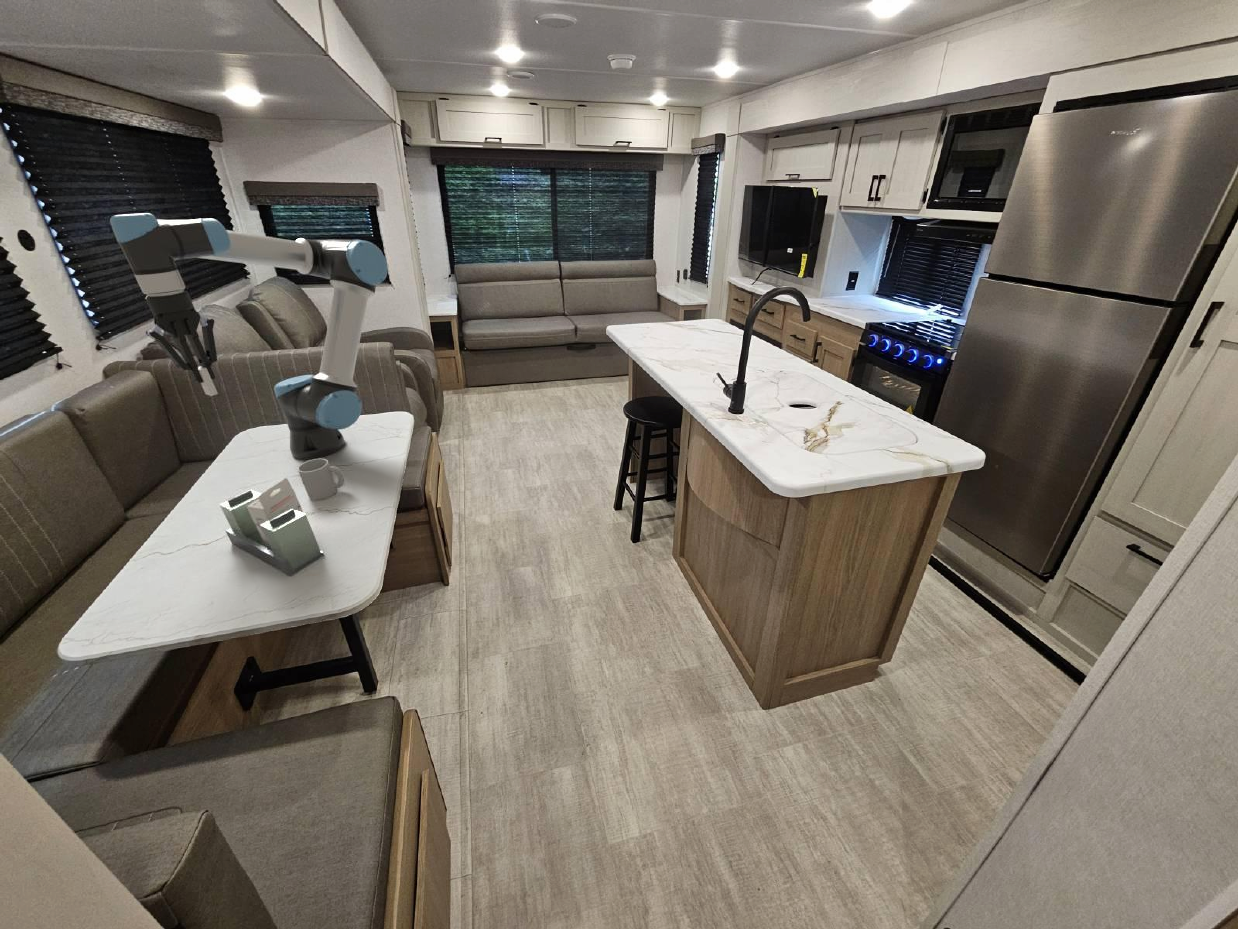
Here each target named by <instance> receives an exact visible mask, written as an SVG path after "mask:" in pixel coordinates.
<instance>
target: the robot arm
mask: <svg viewBox="0 0 1238 929" xmlns="http://www.w3.org/2000/svg"><path fill="white" fill-rule="evenodd" d="M109 222H110V223H109V224H110V225H111V229H112V231H113V234H114V235H115V238H116V242H117V243H118V245H119V247H120V248H121V250H122V252H123V254H124V256H125V259H126V260H127V262H128V264H129V266H130V268H131V271H132V273H133V275H134V277H135V280H136V281H137V283H138V286H139V288H140V290H141V291H142V293H143V294H144V295H146V296H145V297H144V299H145V300H146V303H147V305H148V307H149V309H150V311H151V314H152V316H153V318H154V320H153V324H154V325H153V327H152V328H151V329H149V330H146V331H145V335H146V336H148V337H149V338H151V339H153V340H154V341H155V342H156V343H157V344H158V346H160V348H161V349H162V350H163V352H164V354H166V356H167V357H168V358H169V359H170V360H171V361H172V362H173V364H174V365H175V366H176V367H177V369H180V370H184V371H187V370H188V371H189V372H190V374H191V377H192V379H193V380H194V382H195V383H197V384H200V385H201V387H202V390H203V392H204V393H205V395H207V396H210V397H213V396H216V395H218V394H219V393H218V391H217V388H216V386H215V384H214V382H213V380H215V379H216V376H215V372H214V371H213V369H212V366H213V363H215V362H217V361H218V355H217V347H216V341H215V335H214V326H215V323H216V322H215V319H213V318H209V317H204V316H201V314H200V313H199V312H198V311H197V310H196V308H195V306H194V304H193V301H192V299H191V297H190V294H189V292H188V291H186V290H185V288H186V285H185V283H184V280H183V278H182V276H181V274H180V272H179V270H178V266H177V264H176V263H175V262H176V261H182V260H185V259H186V260H187V259H195V258H197V259H205V260H206V259H207V260H214V261H222V262H231V263H239V264H247V265H255V266H263V267H271V268H272V267H273V268H280V269H290V270H296V271H297V272H298V273H299V274H301V275H307V276H308V275H309V276H313V277H319V278H323V279H326V280H329V283H330V284H331V286H332V287H333V290H334V291H333V295H332V296H333V297H332V301H331V307H330V314H329V318H328V324H327V330H326V335H325V338H324V339H325V340H324V346H323V351H322V355H321V361H320V368H319V372H318V373H317V374H315V375H314V374H306V375H305V374H304V375H299V376H294V377H290V378H287V379H284V380H282V381H280V382H279V381H278V383H276V384H275V385H274V387H273V390H274V393H275V399H277V402H278V404H279V408H280V409H281V412H282V414H283V417H284V420H285V423H286V424H287V426H288V427H287V428H288V429H289V450H290V452H291V455H292V457H293V458H295V459H298V460H313V459H320V458H323V457H326V456H329V455H332V454H334V453H336V452H338V451H340V449H342V448H343V447H344V446H345V443H346V441H345V438H344V436H343V434H342V432H341V431H340V430H345V429H347V428H348V429H349V428H350V427H351V426H353V425H354V424H355V423H356V422H357V421H358V419H359V418H360V416H361V414H362V406H363V405H362V401H361V400H360V397H359V396H358V395H357V389H358V386H357V384H356V383H355V381H354V380H353V379H354V374H355V368H356V362H357V356H358V351H359V347H360V341H361V337H362V330H363V327H364V326H363V325H364V322H365V320H364V319H365V314H366V310H367V309H366V308H367V303H368V299H369V298H373V296H374V295H375V294H376V289H377V285H380V284H381V283H383V282H384V281H385V280H386V279H387V276H388V272H389V271H388V268H389V266H388V263H387V259H386V257H385V255H384V254H383V252H382V250H381V248H379V247H378V246H377V245H376V244H374V243H373V242H371V241H368V240H362V239H359V238H358V239H357V238H356V239H355V238H354V239H338V238H332V239H329V238H327V239H307V238H302V237H300V238H297V239H296V240H291V239H284V238H277V237H273V236H268V235H267V236H266V235H258V234H254V233H248V232H247V233H246V232H241V231H236V230H235V231H234V230H229V229H226V228H225V226H224V225H223V224H222V223H221V222H220V221H219V220H218V219H215V218H211V217H210V218H195V219H160V218H156V217H155V215H154V214H152V213H149V212H143V213H127V214H126V213H125V214H116V215H112V216H111V217H110V219H109ZM199 325H200V326H201V332H202V339H203V344H204V346H203V344H202V342H201V340H200V335H199V332H198V327H199ZM163 331H164V332H165V333H166V334H169V335H170V336H171V338H172V339H173V340H174V342H175V344H176V346H177V349H178V350H179V353H180V354H181V355H179V353H178V351H176V349H175V348H174V347H173V346H172V345H171V343H170V342H169V341H168V340H167V339H166V338H165V337H164V333H163ZM187 339H188V341H189V343H190V346H191V349H192V350H193V353H194V355H195V356H196V359H195V357H194V355H193V353H192V350H191V349H190V346H189V344H188V342H187ZM181 356H182V357H181ZM196 360H197V361H198V363H197V362H196ZM198 364H199V365H200V366H198Z"/></svg>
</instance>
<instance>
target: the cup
mask: <svg viewBox="0 0 1238 929" xmlns="http://www.w3.org/2000/svg"><path fill="white" fill-rule="evenodd" d="M297 471H298V472H297V473H298V474H299V476H300V479H301V481H302V485H303V486H304V488H305V492H306V494H307V496H308V498H309V499H310V500H312V501H322V500H327V499H329V498H332V497H333V496H334V495H336V494H337V492H338V489H340V488H341V487H343V486H344V485H345V475H344V473H343V471H342V470H341V469H340V468H339V467H337V466H334V465H330V464H329V460H328V459H325V458H314V459H308V460H307V461H305V462H303V463H301V464H300V465H298V466H297ZM334 474H335V475H336V477H337V481H336V480H335V477H334Z"/></svg>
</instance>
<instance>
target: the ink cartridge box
mask: <svg viewBox="0 0 1238 929" xmlns="http://www.w3.org/2000/svg"><path fill="white" fill-rule="evenodd" d="M260 494H261V495H259V496H258V500H256V501H255V502H253V503H251V504H250V505H248V506H247V508H248V511H249V513H250V515H251V517H252V519H253V521H254V523H255V525H256V527H257V529H258V531H259V533H260V535H261V537H262V539H263V541H264V543H265V545H266V547H267V548H270V549H271V547H270V545H269V543H268V540H267V538H266V536H265V534H264V532H263V530H262V528H261V526H260V525H261V524H263V523H265V522H267V521H269V520H271V519H273V518H275V517H277V516H279V515H280V514H282V513H284V512H286V511H288V510H290V509H292V508H293V509H295V510H297V511H299V512H302V513H304V511H303V508H302V507H301V504H300V502H299V499H298V496H297V495H296V492H295V489H294V488H292V485H291V483H290V481H289V479H288V478H284V479H282V480H281V481H279V482H277V483H276V484H274V485H273V486H271V487H270V488H269V489H267V490H265V491H264V492H262V493H260Z"/></svg>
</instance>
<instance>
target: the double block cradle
mask: <svg viewBox="0 0 1238 929" xmlns="http://www.w3.org/2000/svg"><path fill="white" fill-rule="evenodd" d="M261 494H262V493H260V492H257V491H255V490H253V489H248V490H245V491H243V492H242V493H238V494H237V495H235V496H233V497H231V498H228V499H226V501H223V502H221V503H219V507H220V509H221V510H222V512H223V514H224V516H225V518H226V521H227V522H228V524H229V526H230V528H229V527H228V528H227V529H225V530H224V532H225V533H226V535H227V537H228V538H229V541H230V543H231V544H232V545H233V546H235V547H236V548H239V549H241V550H242V551H244V552H245V553H248V554H249V555H251V556H253V557H254V558H256V559H257V560H259V561H262V562H264V563H265V564H267V565H269V566H271V567H272V568H274V569H276V570H278V571H279V572H281V573H283V574H285V575H286V576H289V577H292V576H293V575H295V574H297V573H298V572H300V571H302V570H304V568H307V567H308V566H310V565H311V564H313V563H314V562H316V561H318V560H319V559H321V558H322V557H324V556H325V553H324V551H322V550H321V549H320V546H319V544H318V541H317V539H316V536H315V534H314V531H313V529H312V526H311V524H310V521H309V519H308V517H307V514H306V513H305V512H303V513H302V512H299V511H297V510H295V509H293V508H292V509H290V510H288V511H286V512H284V513H282V514H280V515H279V516H277V517H275V518H273V519H271V520H269V521H267V522H265V523H263V524H261V525H260V526H261V528H262V530H263V532H264V534H265V536H266V538H267V540H268V543H269V545H270V547H271V549H270V548H267V547H266V545H265V543H264V541H263V539H262V537H261V535H260V533H259V531H258V529H257V527H256V525H255V523H254V521H253V519H252V517H251V515H250V513H249V511H248V508H247V506H248V505H250V504H251V503H253V502H255V501H256V500H258V496H259V495H261Z"/></svg>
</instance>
